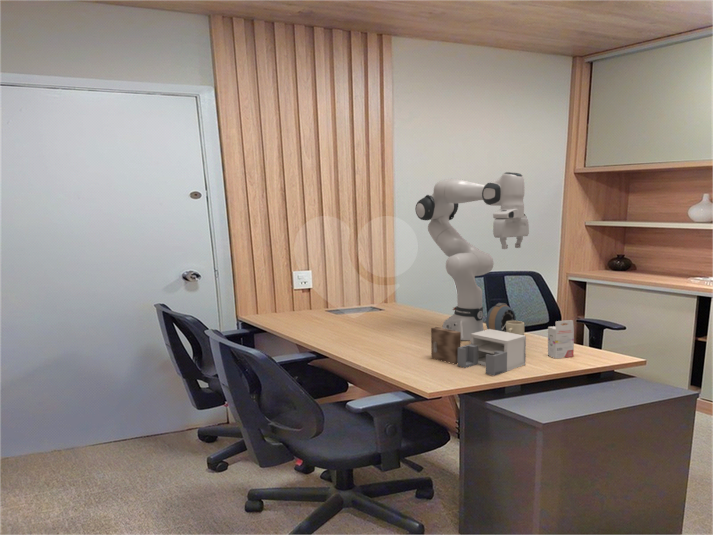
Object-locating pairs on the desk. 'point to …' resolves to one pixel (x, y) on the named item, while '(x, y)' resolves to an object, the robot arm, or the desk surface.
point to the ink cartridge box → (561, 339)
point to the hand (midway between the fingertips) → (511, 248)
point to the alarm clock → (499, 317)
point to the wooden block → (445, 344)
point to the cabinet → (494, 351)
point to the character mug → (515, 327)
